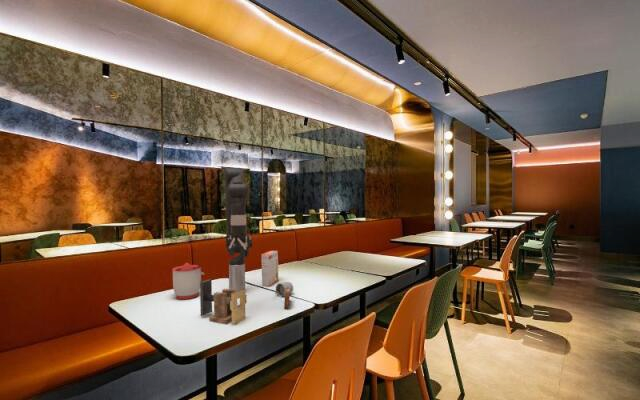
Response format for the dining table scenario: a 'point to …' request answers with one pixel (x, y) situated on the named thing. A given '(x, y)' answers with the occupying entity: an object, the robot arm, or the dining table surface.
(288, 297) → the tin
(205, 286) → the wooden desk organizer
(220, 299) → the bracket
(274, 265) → the cracker box
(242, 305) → the tan wooden flat panel
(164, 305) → the dining table surface
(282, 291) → the ceramic mug
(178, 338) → the dining table surface
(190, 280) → the citrus juicer
